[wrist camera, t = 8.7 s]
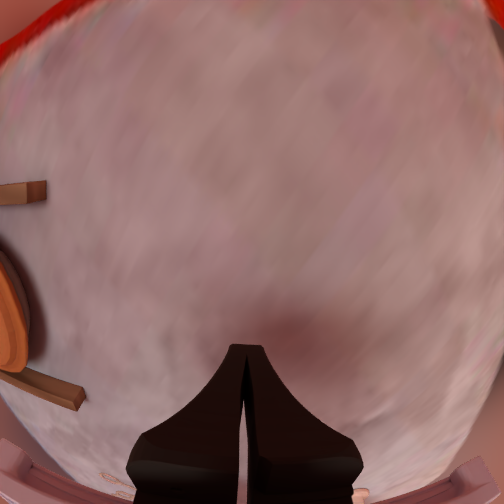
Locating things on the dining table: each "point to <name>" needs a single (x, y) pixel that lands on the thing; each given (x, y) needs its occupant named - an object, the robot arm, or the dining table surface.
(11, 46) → the dining table surface
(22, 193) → the serving rack
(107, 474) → the scissors
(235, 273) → the dining table surface
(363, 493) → the candle
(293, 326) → the dining table surface
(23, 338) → the pie
